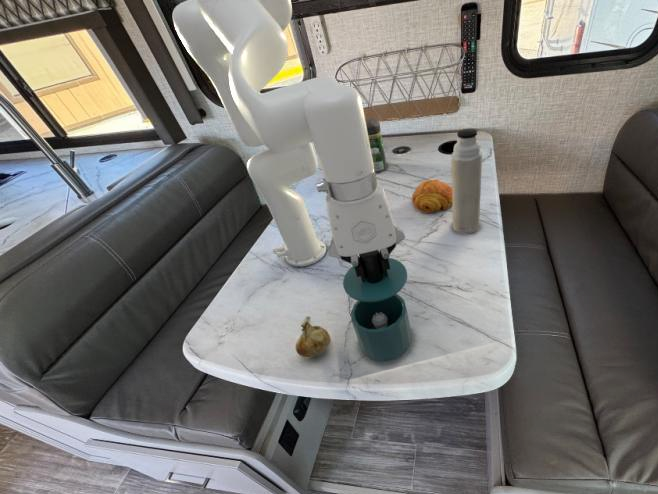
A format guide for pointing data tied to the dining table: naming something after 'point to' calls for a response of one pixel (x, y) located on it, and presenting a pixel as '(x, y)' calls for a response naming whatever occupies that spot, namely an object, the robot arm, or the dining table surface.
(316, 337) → the onion
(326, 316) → the dining table surface
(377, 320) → the rook chess piece
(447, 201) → the croissant
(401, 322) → the canister
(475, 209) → the thermos bottle
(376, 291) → the canister lid
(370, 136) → the coffee jar
